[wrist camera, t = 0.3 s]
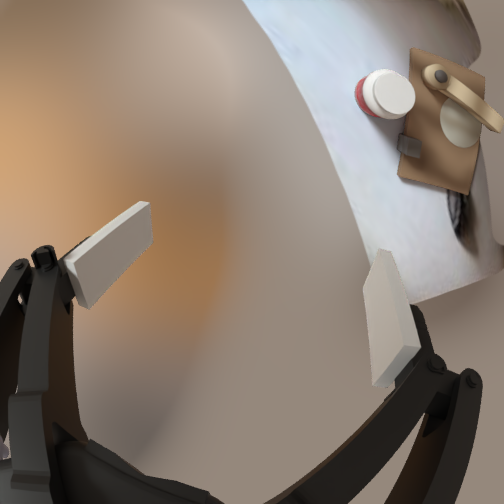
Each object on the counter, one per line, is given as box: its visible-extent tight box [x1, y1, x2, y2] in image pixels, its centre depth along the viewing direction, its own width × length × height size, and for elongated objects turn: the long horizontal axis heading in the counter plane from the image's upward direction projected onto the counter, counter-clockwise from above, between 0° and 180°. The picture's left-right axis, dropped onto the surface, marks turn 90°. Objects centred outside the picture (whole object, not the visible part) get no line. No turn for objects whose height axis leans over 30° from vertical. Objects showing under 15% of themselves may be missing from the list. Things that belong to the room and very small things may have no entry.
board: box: [397, 47, 485, 195], centre depth 27 cm, size 20×14×5 cm
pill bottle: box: [354, 69, 415, 119], centre depth 26 cm, size 6×6×11 cm
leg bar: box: [421, 64, 504, 133], centre depth 23 cm, size 14×4×4 cm, turn 73°
